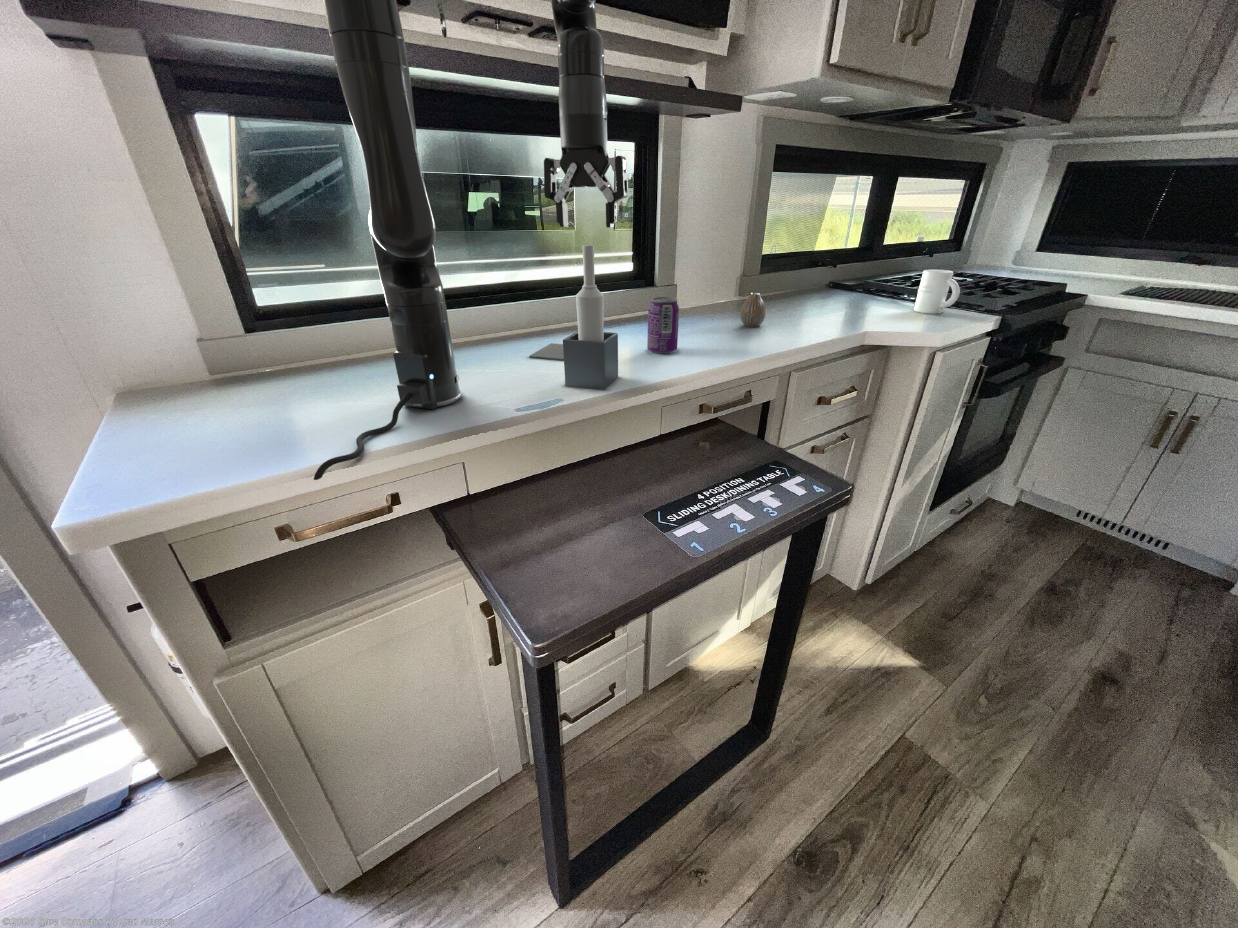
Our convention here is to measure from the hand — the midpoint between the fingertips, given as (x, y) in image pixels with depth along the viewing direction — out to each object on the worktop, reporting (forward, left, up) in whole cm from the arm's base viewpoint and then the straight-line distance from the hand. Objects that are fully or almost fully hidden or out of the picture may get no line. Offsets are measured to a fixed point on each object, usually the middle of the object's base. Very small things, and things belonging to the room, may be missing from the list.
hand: (586, 227), depth 88 cm
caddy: (0, 0, -28) cm, 28 cm away
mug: (+95, -79, -28) cm, 127 cm away
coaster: (+18, +14, -28) cm, 36 cm away
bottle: (0, 0, -28) cm, 28 cm away
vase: (+60, -26, -28) cm, 71 cm away
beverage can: (+26, -8, -28) cm, 39 cm away
